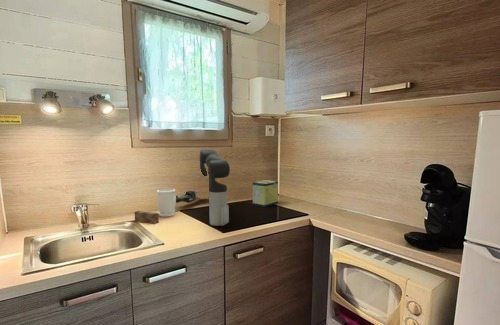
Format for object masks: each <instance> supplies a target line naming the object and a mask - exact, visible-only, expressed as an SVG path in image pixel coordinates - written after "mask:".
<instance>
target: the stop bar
mask: <svg viewBox="0 0 500 325" xmlns="http://www.w3.org/2000/svg"><path fill="white" fill-rule="evenodd" d="M159 214H160V213H158V212H151V211H143V210H142V211H141V210H136V211H134V221H135V222H142V223H148V224H154V225H155V224H158V223H159V217H160V216H159Z"/></svg>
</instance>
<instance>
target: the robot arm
mask: <svg viewBox="0 0 500 325" xmlns="http://www.w3.org/2000/svg"><path fill="white" fill-rule="evenodd" d="M205 165H206V166H207V168H206V166H205ZM200 169H201V172H202V174H203V175H204V176H207V171H208V174H209V197H208V198H209V199H208V203H209V204H208V207H209V208H208V209H209V214H208V215H209V225H211V226H218V227H219V226H225V225H227V224H228V223H229V222H230V220H229V219H230V217H229V216H230V215H229V213H230V212H229V207H230V206H229V204H228V187H227V185H226V184H224V183H221V182H218V181H217V180H216V179H224V178H227V177H228V176H229V175H230V173H231V168H230V164H229V161H227V159H226V160H225V159H223V158H221V157H220V156H219V155H218V153H217V152H216V150H215V149H201V150H200V151H199V170H200ZM206 169H207V171H206ZM185 192H186V194H185V195H183V194H182V195H180V196H179V195H175V196H176V204H177V203H178V204H179V203H187V204H188V203H192V202H195V201H196V199H197V198H198V196H199V195H198V193H197V192H195V191H190V190H187V191H185ZM197 200H198V199H197Z"/></svg>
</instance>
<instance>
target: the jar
mask: <svg viewBox="0 0 500 325" xmlns="http://www.w3.org/2000/svg"><path fill="white" fill-rule="evenodd" d="M175 192H176V189H175V188H160V189H157V190H156V193H157V196H156V204H157V209H158V212H159V213H158V214H159V217H162V218H163V217H164V218H168V217H172V216H174V215H175V209H176V204H177V203H176V196H177V195H176V193H175Z"/></svg>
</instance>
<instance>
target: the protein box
mask: <svg viewBox="0 0 500 325" xmlns="http://www.w3.org/2000/svg"><path fill="white" fill-rule="evenodd" d="M278 203H279V181H276V180H269V179H265V180H264V179H263V180H259V181H254V182H253V181H252V206H257V207H261V208H266V207H269V206H273V205H277V204H278Z"/></svg>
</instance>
